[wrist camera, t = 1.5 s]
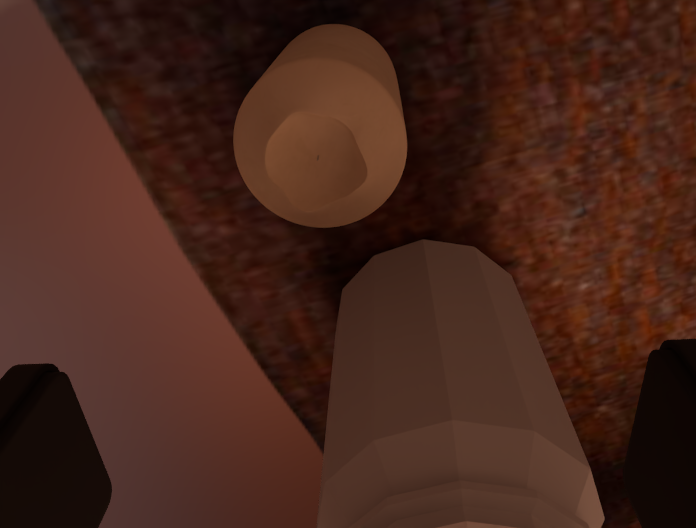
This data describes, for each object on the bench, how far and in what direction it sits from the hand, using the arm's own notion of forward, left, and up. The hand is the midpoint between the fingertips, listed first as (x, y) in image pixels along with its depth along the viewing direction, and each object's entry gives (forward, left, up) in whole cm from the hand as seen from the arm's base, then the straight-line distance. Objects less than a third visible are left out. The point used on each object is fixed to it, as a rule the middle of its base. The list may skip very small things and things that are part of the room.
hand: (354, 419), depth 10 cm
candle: (-1, -1, -19) cm, 19 cm away
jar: (+11, +3, -19) cm, 22 cm away
